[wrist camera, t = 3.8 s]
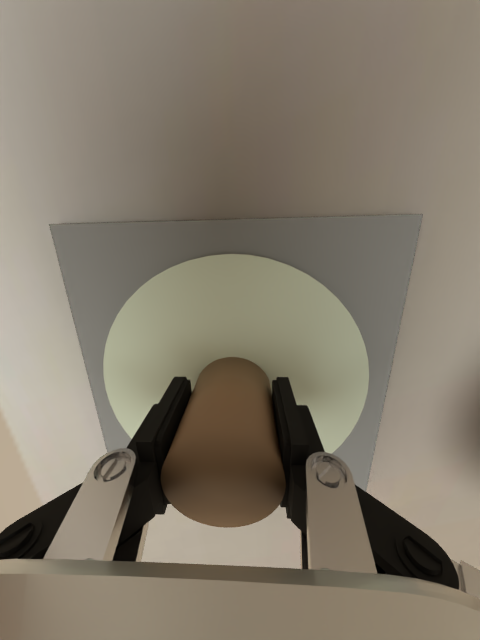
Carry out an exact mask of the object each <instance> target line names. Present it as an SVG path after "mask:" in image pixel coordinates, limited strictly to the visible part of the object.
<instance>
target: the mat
mask: <svg viewBox="0 0 480 640" xmlns="http://www.w3.org/2000/svg"><path fill="white" fill-rule="evenodd" d="M422 217H423V214H405V215H368V216H332V217H295V218H259V219H223V220H186V221H150V222H113V223H77V224H49V226H50V230H51V234H52V238H53V242H54V245H55V249H56V253H57V257H58V261H59V265H60V269H61V273H62V277H63V281H64V285H65V289H66V292H67V296H68V300H69V304H70V308H71V312H72V316H73V320H74V324H75V328H76V332H77V335H78V339H79V343H80V347H81V351H82V355H83V359H84V363H85V367H86V371H87V375H88V379H89V382H90V386H91V390H92V394H93V398H94V402H95V406H96V410H97V414H98V418H99V422H100V426H101V429H102V433H103V437H104V441H105V445H106V449H107V453H108V452H110V451H112V450H115V449H119V448H127V446H128V444H129V443H130V441H131V440H132V439H131V438H130V437H129V435H128V434H127V433H126V432H125V430H124V429H123V427H122V426H121V424H120V423H119V421H118V419H117V418H116V416H115V414H114V411H113V409H112V407H111V405H110V402H109V399H108V395H107V392H106V388H105V382H104V375H103V359H104V352H105V345H106V341H107V338H108V335H109V331H110V329H111V327H112V325H113V323H114V320H115V318H116V316H117V314H118V313H119V312H120V310H121V309H122V307H123V306H124V304H125V303H126V301H127V300H128V299H129V298H130V297H131V296H132V295H133V294H134V293H135V292H136V291H137V290H138V289H139V288H140V287H141V286H142V285H144V284H145V283H146V282H148V281H149V280H150V279H151V278H153V277H154V276H156V275H158V274H160V273H161V272H163V271H165V270H167V269H168V268H170V267H173V266H175V265H178V264H181V263H183V262H186V261H188V260H193V259H197V258H201V257H206V256H211V255H222V254H245V255H254V256H259V257H264V258H269V259H272V260H275V261H278V262H281V263H284V264H287V265H290V266H292V267H294V268H296V269H298V270H300V271H302V272H304V273H306V274H308V275H309V276H311V277H312V278H314V279H315V280H317V281H318V282H320V283H321V284H322V285H324V286H325V287H326V288H327V289H328V290H329V291H330V292H332V293H333V294H334V295H335V296H336V297H337V298H338V299H339V300H340V302H341V303H342V304H343V305H344V307H345V308H346V309H347V310H348V312H349V313H350V314H351V316H352V318H353V320H354V321H355V323H356V325H357V326H358V328H359V331H360V333H361V336H362V338H363V341H364V344H365V348H366V352H367V357H368V364H369V383H368V393H367V396H366V400H365V404H364V408H363V410H362V412H361V415H360V417H359V419H358V421H357V423H356V425H355V426H354V428H353V430H352V431H351V433H350V434H349V436H348V437H347V438H346V439H345V441H344V442H343V443H342V444H341V445H340V446H339V447H338V448H337V449H336V450H335V451H334V452H333V453H332V454H333V455H335V456H337V457H339V458H340V459H341V460H342V461H344V462H345V463H346V465H347V466H348V467H349V468H350V471H351V473H352V476H353V480H354V484H355V485H357V486H358V487H360V488H361V489H362V490H364V491H365V492H366V489H367V484H368V479H369V474H370V470H371V465H372V460H373V455H374V450H375V445H376V440H377V435H378V431H379V426H380V421H381V416H382V411H383V406H384V401H385V397H386V392H387V387H388V382H389V377H390V372H391V367H392V363H393V358H394V353H395V348H396V343H397V338H398V333H399V328H400V324H401V319H402V314H403V309H404V304H405V299H406V294H407V290H408V285H409V280H410V275H411V270H412V265H413V260H414V256H415V251H416V246H417V241H418V236H419V231H420V226H421V221H422Z"/></svg>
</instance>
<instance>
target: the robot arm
mask: <svg viewBox="0 0 480 640" xmlns="http://www.w3.org/2000/svg"><path fill="white" fill-rule="evenodd" d="M191 394H192V391H191V381H190V380H187V378H186V377H174V378H173V379H172V381H171V383H170V385H169V386H168V388H167V390H166V391H165V393H164V395H163V396H162V398H161V400H160V401H159V403H158V404H154V405H153V406H152V407H151V409H150V411H149V412H148V414H147V416H146V417H145V419H144V420H143V422H142V424H141V425H140V427H139V428H138V430H137V432H136V433H135V435H134V436H133V438H132V440H131V441H130V443H129V444H128V446H127V448H119V449H115V450H112V451H110V452H108V453H106V454H105V455H103V456H102V457H100V458H99V459H98V460H97V461H96V462H95V463H94V464H93V466H92V467H91V469H90V471H89V472H88V474H87V476H86V478H85V480H84V482H83V483H81V484H79V485H78V486H76V487H74V488H73V489H71V490H69V491H67V492H66V493H64V494H62V495H60V496H59V497H57V498H55V499H54V500H52V501H50V502H48V503H47V504H45V505H43V506H41V507H40V508H38V509H36V510H34V511H33V512H31V513H29V514H28V515H26V516H24V517H22V518H21V519H19V520H17V521H16V522H14V523H13V524H11V525H10V526H8V527H7V528H6V529H5V530H4V531H3V532H1V533H0V640H480V570H478V569H476V568H474V567H473V566H471V565H469V564H467V563H465V562H464V561H462V560H461V562H460V564H458V563H457V562H455V561H453V560H451V559H450V558H449V557H448V555H447V554H446V552H445V551H444V550H443V549H442V548H441V547H440V546H439V545H438V543H437V542H435V541H434V540H433V539H432V538H431V537H429V536H428V535H427V534H426V533H424V532H423V531H421V530H420V529H418V528H417V527H415V526H414V525H413V524H411V523H410V522H408V521H407V520H405V519H404V518H403V517H401V516H400V515H398V514H397V513H395V512H394V511H393V510H391V509H390V508H388V507H387V506H385V505H384V504H383V503H381V502H380V501H378V500H377V499H375V498H374V497H373V496H371V495H370V494H368V493H367V492H365V491H364V490H362V489H361V488H360V487H358V486H357V485H355V484H354V480H353V476H352V473H351V471H350V468H349V467H348V466H347V465H346V463H345V462H344V461H342V460H341V459H340V458H339V457H337V456H335V455H333V454H331V453H327V452H325V451H324V448H323V445H322V443H321V440H320V437H319V435H318V432H317V429H316V427H315V424H314V421H313V419H312V416H311V413H310V410H309V408H308V406H307V405H297V404H296V401H295V398H294V394H293V391H292V388H291V384H290V381H289V378H288V377H277V378H276V380H272V399H273V406H274V412H275V418H276V425H277V431H278V438H279V444H280V451H281V457H282V464H283V469H284V474H285V481H286V488H285V494H284V497H283V499H282V501H281V503H280V506H281V507H286V513H287V518H290V519H291V521H292V522H293V523H294V524H295V525H296V526H297V527H298V528H299V529H300V559H301V569H291V568H271V567H250V566H227V565H204V564H179V563H155V562H141V559H142V554H143V549H144V544H145V540H146V535H147V530H148V523H149V521H150V520H151V519H152V518H154V517H155V514H164V513H165V510H166V507H167V504H171V503H170V502H169V501H168V499H167V497H166V496H165V494H164V491H163V489H162V485H161V470H162V467H163V464H164V461H165V459H166V456H167V454H168V452H169V449H170V447H171V444H172V442H173V439H174V437H175V434H176V432H177V429H178V427H179V424H180V422H181V419H182V417H183V414H184V412H185V409H186V407H187V404H188V402H189V399H190V397H191Z"/></svg>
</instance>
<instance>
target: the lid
mask: <svg viewBox="0 0 480 640" xmlns="http://www.w3.org/2000/svg"><path fill="white" fill-rule="evenodd" d="M103 375H104V382H105V388H106V392H107V395H108V399H109V402H110V405H111V407H112V409H113V411H114V414H115V416H116V418H117V419H118V421H119V423H120V424H121V426H122V427H123V429H124V430H125V432H126V433H127V434H128V435H129V437H130V438H131V439H132V438H133V436H134V435H135V433H136V432H137V430H138V428H139V427H140V425H141V424H142V422H143V420H144V419H145V417H146V416H147V414H148V412H149V411H150V409H151V407H152V406H153V405H154V404H158V403H159V401H160V400H161V398H162V396H163V395H164V393H165V391H166V390H167V388H168V386H169V385H170V383H171V381H172V379H173V378H174V377H186V378H187V380H190V381H191V391H192V394H191V397H190V399H189V402H188V404H187V407H186V409H185V412H184V414H183V417H182V419H181V422H180V424H179V427H178V429H177V432H176V434H175V437H174V439H173V442H172V444H171V447H170V449H169V452H168V454H167V456H166V459H165V461H164V464H163V467H162V470H161V485H162V489H163V491H164V494H165V496H166V497H167V499H168V501H169V502H170V503H171V504H172V505H173V506H174V507H175V508H176V509H177V510H178V511H179V512H181V513H182V514H183V515H185V516H187V517H188V518H190V519H192V520H195V521H197V522H200V523H203V524H206V525H210V526H216V527H240V526H245V525H249V524H253V523H255V522H258V521H260V520H262V519H264V518H266V517H267V516H268V515H270V514H271V513H272V512H273V511H274V510H275V509H276V508H277V507H278V506H279V504H280V503H281V501H282V499H283V497H284V494H285V488H286V481H285V474H284V469H283V464H282V457H281V451H280V444H279V438H278V431H277V425H276V418H275V412H274V406H273V399H272V380H276V378H277V377H288V378H289V381H290V384H291V388H292V391H293V394H294V398H295V401H296V404H297V405H307V406H308V408H309V410H310V413H311V416H312V419H313V421H314V424H315V427H316V429H317V432H318V435H319V437H320V440H321V443H322V445H323V448H324V451H325V452H327V453H331V454H332V453H333V452H334V451H335V450H336V449H337V448H338V447H339V446H340V445H341V444H342V443H343V442H344V441H345V439H346V438H347V437H348V436H349V434H350V433H351V431H352V430H353V428H354V426H355V425H356V423H357V421H358V419H359V417H360V415H361V412H362V410H363V408H364V404H365V400H366V396H367V393H368V383H369V364H368V357H367V352H366V348H365V344H364V341H363V338H362V336H361V333H360V331H359V328H358V326H357V325H356V323H355V321H354V320H353V318H352V316H351V314H350V313H349V312H348V310H347V309H346V308H345V307H344V305H343V304H342V303H341V302H340V300H339V299H338V298H337V297H336V296H335V295H334V294H333V293H332V292H330V291H329V290H328V289H327V288H326V287H325V286H324V285H322V284H321V283H320V282H318V281H317V280H315V279H314V278H312V277H311V276H309V275H308V274H306V273H304V272H302V271H300V270H298V269H296V268H294V267H292V266H290V265H287V264H284V263H281V262H278V261H275V260H272V259H269V258H264V257H259V256H254V255H245V254H222V255H211V256H206V257H201V258H197V259H193V260H188V261H186V262H183V263H181V264H178V265H175V266H173V267H170V268H168V269H167V270H165V271H163V272H161V273H160V274H158V275H156V276H154V277H153V278H151V279H150V280H149V281H148V282H146V283H145V284H144V285H142V286H141V287H140V288H139V289H138V290H137V291H136V292H135V293H134V294H133V295H132V296H131V297H130V298H129V299H128V300H127V301H126V303H125V304H124V306H123V307H122V309H121V310H120V312H119V313H118V314H117V316H116V318H115V320H114V323H113V325H112V327H111V329H110V331H109V335H108V338H107V341H106V345H105V352H104V359H103Z"/></svg>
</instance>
